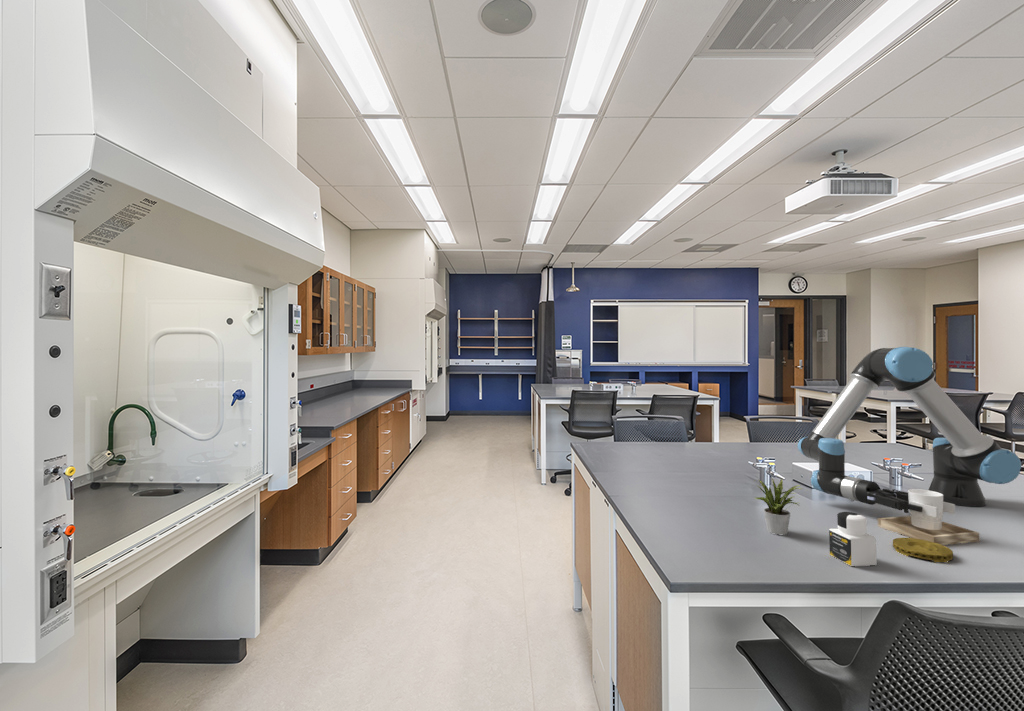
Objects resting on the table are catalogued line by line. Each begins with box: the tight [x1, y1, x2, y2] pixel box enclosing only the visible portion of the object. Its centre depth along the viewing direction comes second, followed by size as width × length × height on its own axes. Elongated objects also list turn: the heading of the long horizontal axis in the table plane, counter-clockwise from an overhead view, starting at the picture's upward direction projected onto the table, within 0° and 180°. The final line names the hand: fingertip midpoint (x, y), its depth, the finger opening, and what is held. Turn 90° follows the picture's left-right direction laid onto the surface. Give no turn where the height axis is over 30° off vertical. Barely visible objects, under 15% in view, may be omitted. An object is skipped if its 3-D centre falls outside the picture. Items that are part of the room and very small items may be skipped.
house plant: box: [754, 476, 803, 535], centre depth 138 cm, size 14×14×16 cm
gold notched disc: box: [892, 537, 954, 563], centre depth 123 cm, size 12×12×2 cm
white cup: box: [907, 488, 944, 530], centre depth 137 cm, size 8×8×10 cm
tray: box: [877, 514, 980, 546], centre depth 137 cm, size 16×16×2 cm
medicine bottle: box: [828, 511, 878, 567], centre depth 119 cm, size 7×7×12 cm
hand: (945, 510), depth 132 cm, fingers closed on white cup, 8 cm apart
